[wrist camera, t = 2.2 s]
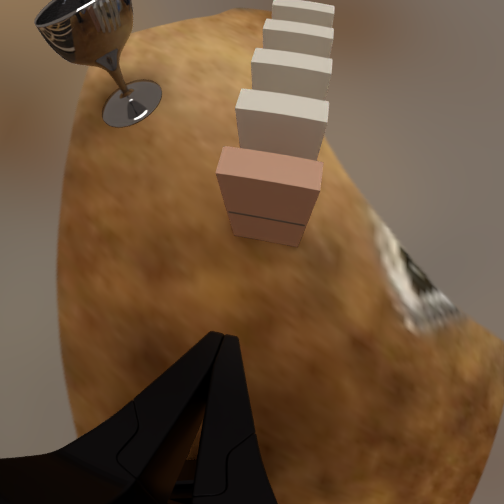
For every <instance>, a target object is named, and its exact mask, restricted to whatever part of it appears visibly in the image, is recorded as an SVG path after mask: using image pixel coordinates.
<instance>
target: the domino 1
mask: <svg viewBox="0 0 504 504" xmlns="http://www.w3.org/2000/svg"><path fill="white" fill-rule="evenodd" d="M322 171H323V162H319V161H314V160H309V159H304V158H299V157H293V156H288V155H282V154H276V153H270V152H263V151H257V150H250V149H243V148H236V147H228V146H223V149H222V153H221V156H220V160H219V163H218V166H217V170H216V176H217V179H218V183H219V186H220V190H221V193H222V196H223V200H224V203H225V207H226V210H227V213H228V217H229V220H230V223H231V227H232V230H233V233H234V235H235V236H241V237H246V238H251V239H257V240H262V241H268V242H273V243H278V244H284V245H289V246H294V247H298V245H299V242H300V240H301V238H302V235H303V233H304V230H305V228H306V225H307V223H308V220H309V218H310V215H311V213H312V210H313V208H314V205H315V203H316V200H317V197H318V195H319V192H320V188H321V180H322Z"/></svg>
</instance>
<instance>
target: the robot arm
mask: <svg viewBox="0 0 504 504" xmlns="http://www.w3.org/2000/svg"><path fill="white" fill-rule="evenodd" d="M133 400H134V401H133ZM133 400H131V401H130V402H129V403H128V404H127V405H125V406H124V407H123V408H122V409H121V410H119V411H118V412H117V413H115V414H114V415H113V416H112V417H110V418H109V419H107V420H106V421H105V422H103V423H102V424H100V425H99V426H97V427H96V428H94V429H92V430H91V431H89V432H88V433H86V434H84V435H83V436H81V437H79V438H78V439H76V440H75V441H73V442H71V443H70V444H68V445H66V446H64V447H63V448H61V449H59V450H56V451H54V452H51V453H47V454H42V455H34V456H25V457H15V458H2V459H0V504H278V503H277V501H276V498H275V496H274V493H273V490H272V488H271V485H270V483H269V480H268V477H267V474H266V471H265V468H264V465H263V462H262V458H261V454H260V450H259V446H258V441H257V436H256V434H255V426H254V421H253V416H252V411H251V405H250V400H249V394H248V389H247V384H246V378H245V372H244V367H243V361H242V355H241V350H240V344H239V339H238V337H237V336H233V335H228V334H226V335H224V334H223V333H219V332H214V331H210V332H209V333H208V334H207V335H205V336H204V337H203V338H202V339H201V340H200V341H199V342H198V343H197V344H195V345H194V346H193V347H192V348H191V349H190V350H189V351H188V352H186V353H185V354H184V355H183V356H182V357H181V358H180V359H179V360H177V361H176V362H175V363H174V364H173V365H172V366H171V367H169V368H168V369H167V370H166V371H165V372H164V373H163V374H162V375H160V376H159V377H158V378H157V379H156V380H155V381H153V382H152V383H151V384H150V385H149V386H148V387H147V388H145V389H144V390H143V391H142V392H141V393H140V394H138V395H137V396H136V397H135V398H134V399H133ZM203 417H204V418H203ZM202 420H203V425H202V431H201V437H200V443H199V450H198V456H197V459H196V460H186V458H187V455H188V453H189V451H190V448H191V446H192V444H193V441H194V439H195V437H196V434H197V432H198V429H199V427H200V425H201V422H202Z"/></svg>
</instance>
